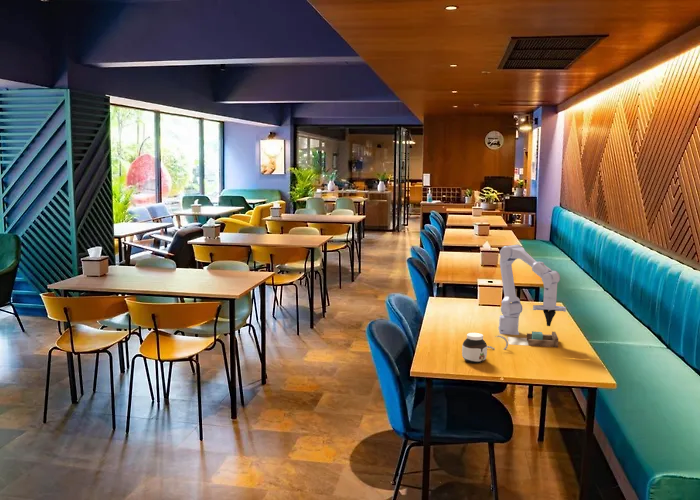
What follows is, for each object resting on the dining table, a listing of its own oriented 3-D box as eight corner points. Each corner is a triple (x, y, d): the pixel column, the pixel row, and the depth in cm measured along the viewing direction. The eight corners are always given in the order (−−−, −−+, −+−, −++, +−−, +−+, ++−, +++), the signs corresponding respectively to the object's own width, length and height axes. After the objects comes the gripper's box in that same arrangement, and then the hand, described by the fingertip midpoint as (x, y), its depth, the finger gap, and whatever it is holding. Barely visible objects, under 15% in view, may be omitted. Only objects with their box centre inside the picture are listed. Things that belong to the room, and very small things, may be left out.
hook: (508, 354, 277) (463, 356, 283) (509, 347, 286) (465, 350, 292) (506, 338, 277) (461, 340, 282) (507, 332, 286) (463, 335, 291)
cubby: (508, 345, 290) (509, 335, 289) (507, 338, 302) (507, 328, 301) (557, 348, 286) (558, 338, 285) (554, 341, 297) (555, 331, 297)
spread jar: (469, 365, 262) (470, 338, 260) (454, 357, 272) (455, 331, 271) (492, 361, 267) (494, 335, 265) (477, 354, 277) (478, 328, 275)
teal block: (532, 343, 291) (532, 334, 291) (531, 340, 296) (532, 331, 295) (542, 343, 291) (542, 334, 290) (541, 341, 295) (541, 332, 294)
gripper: (534, 298, 286) (533, 326, 288) (567, 299, 284) (565, 328, 286) (533, 295, 293) (531, 323, 295) (565, 296, 291) (563, 324, 293)
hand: (548, 325), depth 291 cm, fingers closed
